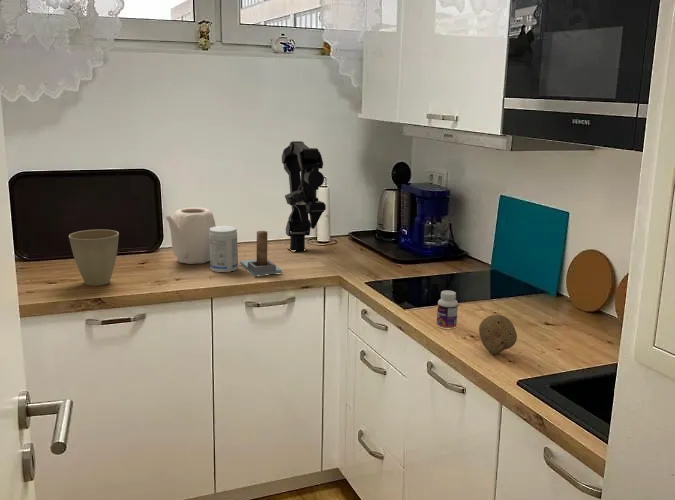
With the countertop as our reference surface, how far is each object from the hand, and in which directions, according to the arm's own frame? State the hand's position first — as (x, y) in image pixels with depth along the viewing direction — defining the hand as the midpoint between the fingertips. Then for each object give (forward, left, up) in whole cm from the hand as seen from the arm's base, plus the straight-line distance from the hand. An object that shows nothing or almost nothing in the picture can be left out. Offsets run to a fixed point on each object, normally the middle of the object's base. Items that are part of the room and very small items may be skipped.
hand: (308, 226), depth 248 cm
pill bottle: (+78, +10, -13) cm, 80 cm away
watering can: (-12, -40, -13) cm, 44 cm away
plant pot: (+4, -74, -13) cm, 75 cm away
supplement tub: (+2, -32, -13) cm, 35 cm away
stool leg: (+11, -21, -12) cm, 26 cm away
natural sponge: (+99, +11, -13) cm, 100 cm away
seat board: (+6, -20, -13) cm, 25 cm away
